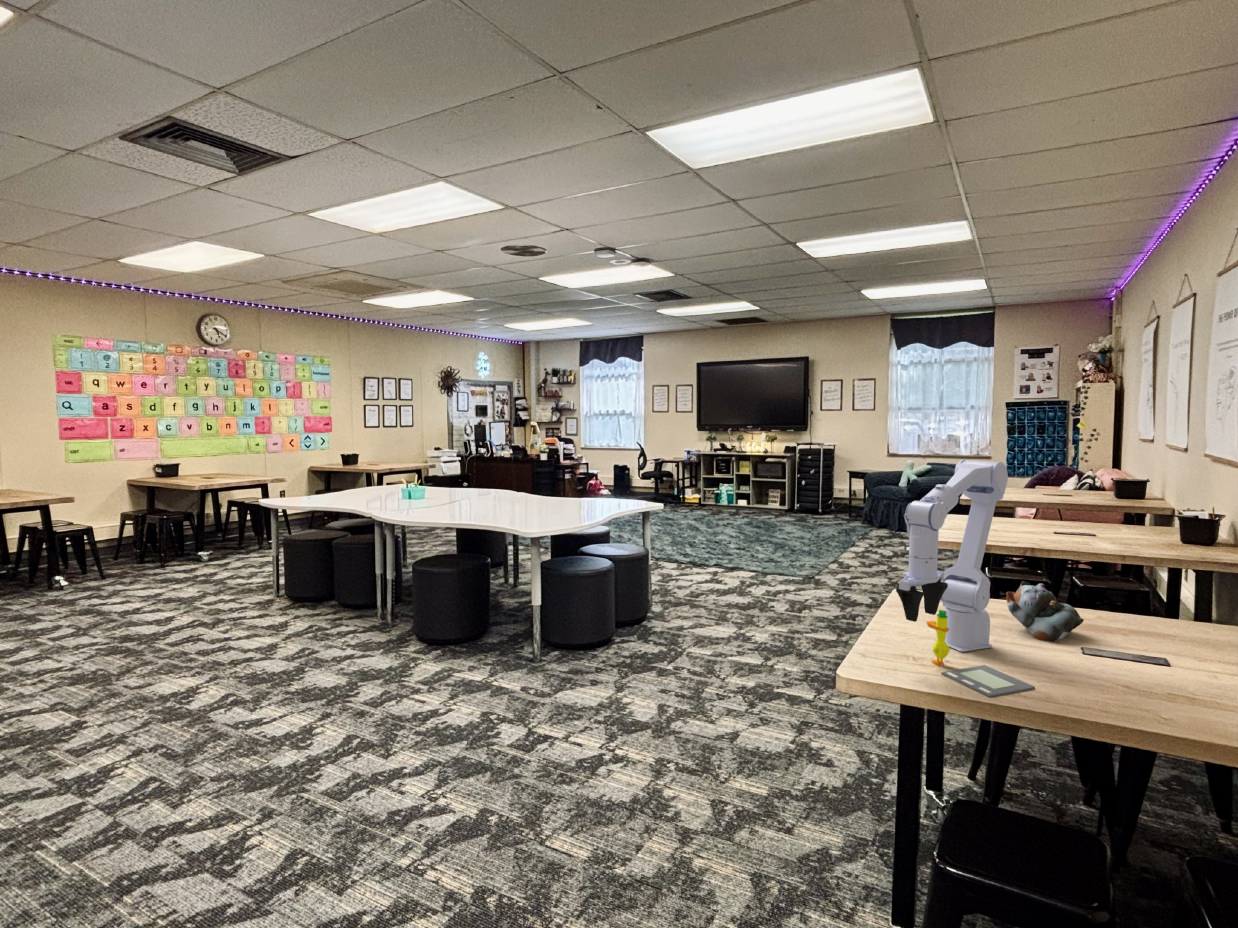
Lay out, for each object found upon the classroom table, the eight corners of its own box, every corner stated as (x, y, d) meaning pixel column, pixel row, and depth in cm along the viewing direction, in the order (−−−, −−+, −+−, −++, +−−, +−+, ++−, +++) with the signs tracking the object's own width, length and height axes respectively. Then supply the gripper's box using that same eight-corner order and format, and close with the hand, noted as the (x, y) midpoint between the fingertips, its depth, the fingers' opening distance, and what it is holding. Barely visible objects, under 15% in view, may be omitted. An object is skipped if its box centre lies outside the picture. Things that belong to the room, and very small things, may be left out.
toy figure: (919, 658, 150) (921, 606, 149) (932, 656, 151) (934, 604, 150) (943, 669, 144) (945, 615, 143) (956, 667, 145) (958, 613, 144)
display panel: (984, 666, 145) (984, 664, 145) (1035, 688, 134) (1035, 686, 134) (941, 673, 141) (941, 671, 141) (989, 697, 130) (989, 694, 130)
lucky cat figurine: (1053, 645, 158) (1022, 590, 161) (1014, 648, 169) (986, 597, 172) (1095, 621, 162) (1065, 567, 165) (1055, 625, 174) (1027, 575, 177)
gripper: (924, 548, 153) (922, 606, 154) (887, 557, 145) (885, 618, 146) (954, 554, 148) (952, 614, 149) (917, 563, 139) (915, 627, 140)
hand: (921, 616), depth 147 cm, fingers open, 7 cm apart
